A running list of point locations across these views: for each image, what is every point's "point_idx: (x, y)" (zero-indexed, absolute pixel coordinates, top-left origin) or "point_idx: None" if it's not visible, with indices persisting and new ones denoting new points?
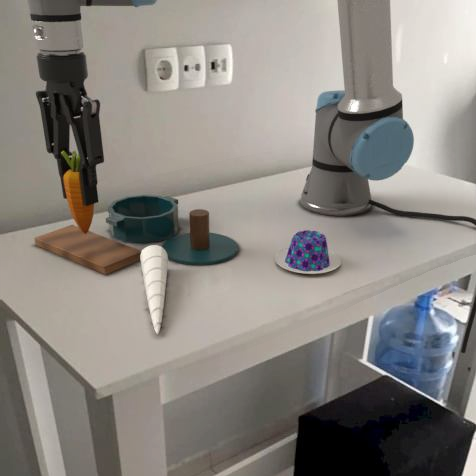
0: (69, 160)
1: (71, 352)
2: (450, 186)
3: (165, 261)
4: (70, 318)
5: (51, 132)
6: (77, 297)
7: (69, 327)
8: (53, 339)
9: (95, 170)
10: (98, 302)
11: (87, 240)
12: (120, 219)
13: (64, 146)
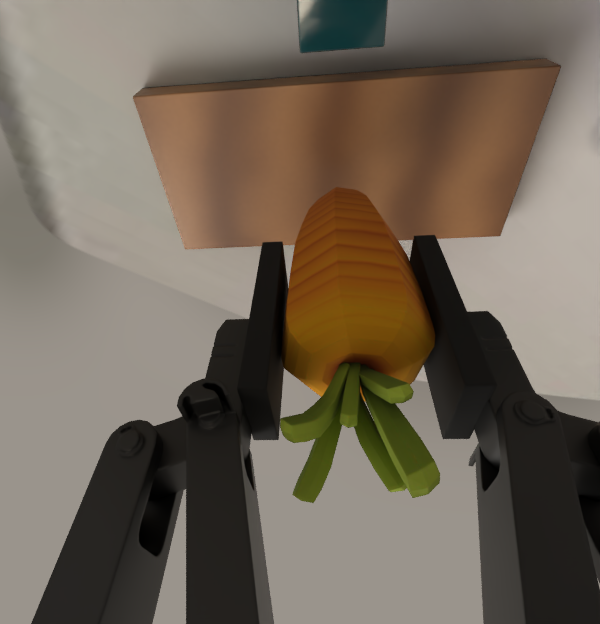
0: (336, 441)
1: (596, 392)
2: None
3: None
4: (535, 354)
5: (143, 610)
6: (498, 315)
7: (551, 366)
8: (547, 389)
9: (525, 380)
10: (555, 303)
11: (312, 154)
12: (377, 4)
13: (249, 494)
